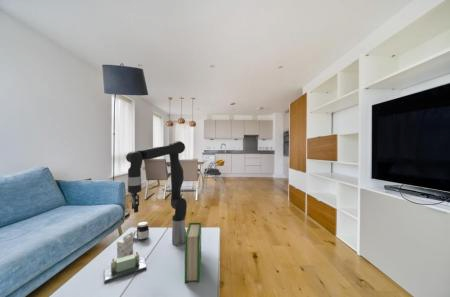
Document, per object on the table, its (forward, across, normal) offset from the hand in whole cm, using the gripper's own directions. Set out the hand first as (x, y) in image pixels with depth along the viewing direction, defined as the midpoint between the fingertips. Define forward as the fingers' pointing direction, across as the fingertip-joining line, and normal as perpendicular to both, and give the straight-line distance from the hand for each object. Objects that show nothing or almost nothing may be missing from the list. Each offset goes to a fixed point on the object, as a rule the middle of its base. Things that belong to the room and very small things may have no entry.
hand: (135, 210), depth 112 cm
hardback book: (+32, -29, -25) cm, 50 cm away
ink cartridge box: (+31, +8, +5) cm, 33 cm away
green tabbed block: (+30, -6, +6) cm, 31 cm away
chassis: (+31, -6, +6) cm, 32 cm away
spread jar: (+32, +30, -8) cm, 44 cm away
